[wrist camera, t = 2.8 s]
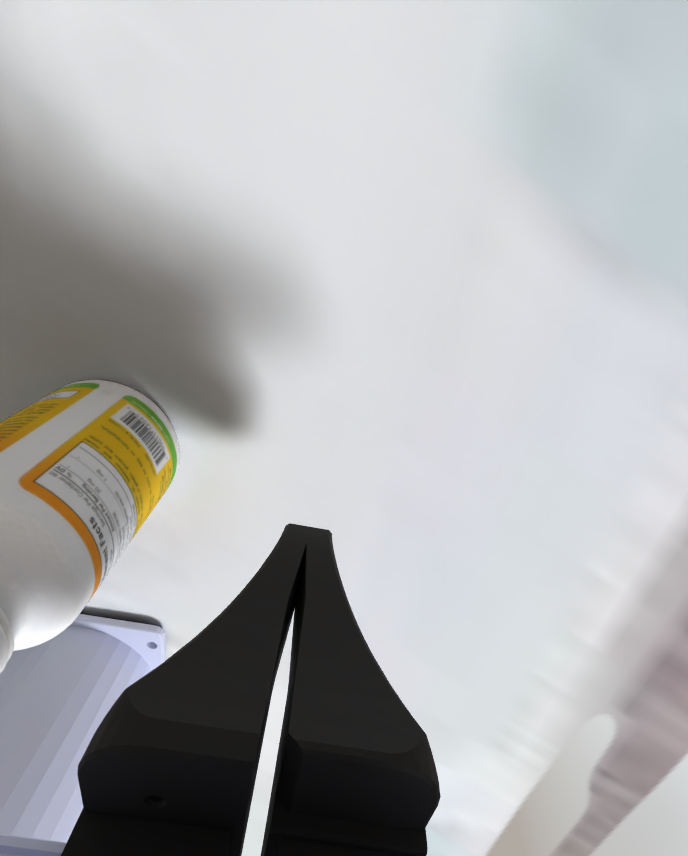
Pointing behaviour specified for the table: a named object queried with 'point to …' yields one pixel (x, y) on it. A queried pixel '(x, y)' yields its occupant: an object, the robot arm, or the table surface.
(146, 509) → the supplement bottle
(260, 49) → the table surface
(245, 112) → the table surface
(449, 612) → the table surface
